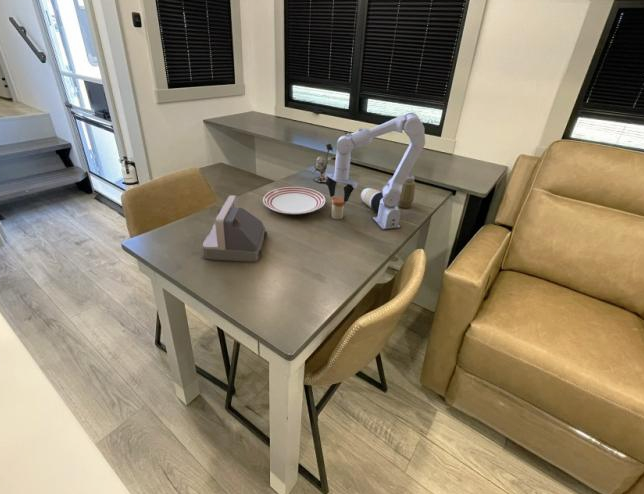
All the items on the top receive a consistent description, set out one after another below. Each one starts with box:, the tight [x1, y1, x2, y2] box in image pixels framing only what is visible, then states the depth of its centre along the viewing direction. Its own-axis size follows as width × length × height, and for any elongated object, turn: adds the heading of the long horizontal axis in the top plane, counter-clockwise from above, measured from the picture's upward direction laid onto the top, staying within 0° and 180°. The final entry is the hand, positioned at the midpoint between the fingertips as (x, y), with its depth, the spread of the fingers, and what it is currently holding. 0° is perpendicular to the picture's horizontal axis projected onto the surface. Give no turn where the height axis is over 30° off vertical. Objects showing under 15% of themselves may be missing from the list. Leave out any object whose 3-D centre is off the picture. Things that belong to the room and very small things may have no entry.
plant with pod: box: [312, 142, 334, 183], centre depth 169 cm, size 8×11×20 cm
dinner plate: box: [262, 186, 326, 216], centre depth 146 cm, size 27×27×3 cm
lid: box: [331, 196, 346, 207], centre depth 136 cm, size 6×6×2 cm
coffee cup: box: [360, 187, 383, 213], centre depth 145 cm, size 9×9×15 cm
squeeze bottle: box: [398, 168, 416, 209], centre depth 149 cm, size 8×8×18 cm
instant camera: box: [202, 195, 268, 263], centre depth 113 cm, size 21×21×15 cm
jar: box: [330, 203, 346, 220], centre depth 138 cm, size 5×5×7 cm
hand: (339, 198), depth 136 cm, fingers open, 6 cm apart
